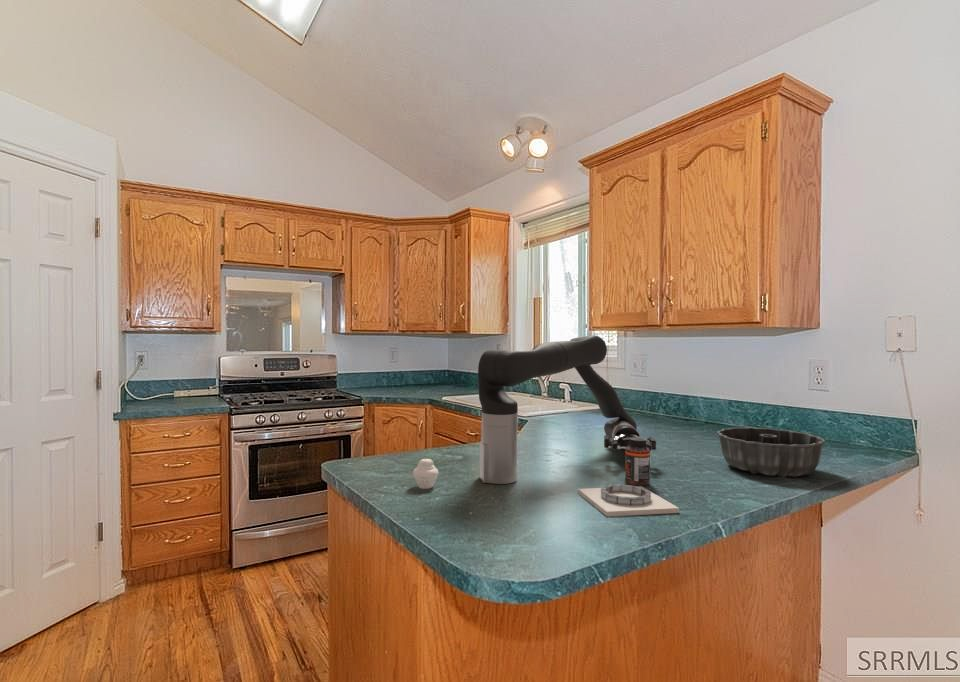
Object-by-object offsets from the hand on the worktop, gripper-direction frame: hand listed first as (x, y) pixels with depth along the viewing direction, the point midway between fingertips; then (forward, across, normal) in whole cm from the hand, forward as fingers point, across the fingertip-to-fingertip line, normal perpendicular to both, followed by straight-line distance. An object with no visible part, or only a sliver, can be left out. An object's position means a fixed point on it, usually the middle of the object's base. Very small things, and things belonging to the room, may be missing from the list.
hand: (632, 447), depth 138 cm
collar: (+28, -5, +7) cm, 29 cm away
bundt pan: (-11, +39, +7) cm, 41 cm away
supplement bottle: (+11, 0, +7) cm, 13 cm away
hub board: (+28, -5, +7) cm, 29 cm away
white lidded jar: (+26, -51, +7) cm, 58 cm away
